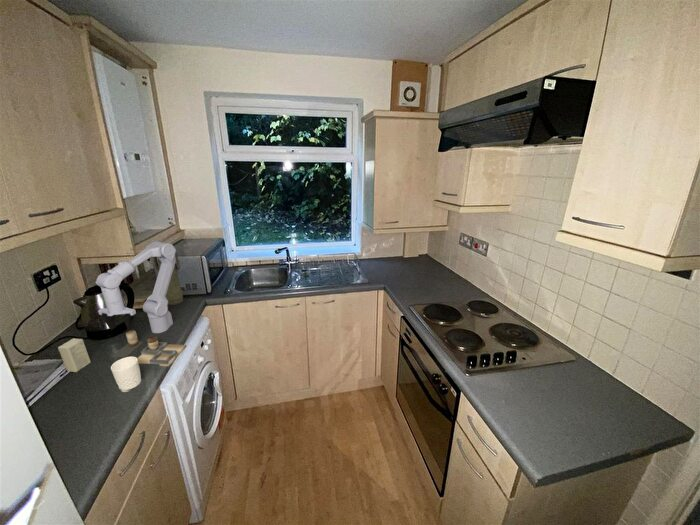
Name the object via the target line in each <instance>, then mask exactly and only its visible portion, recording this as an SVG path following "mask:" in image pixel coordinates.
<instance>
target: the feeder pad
mask: <svg viewBox="0 0 700 525" xmlns="http://www.w3.org/2000/svg"><path fill="white" fill-rule="evenodd" d="M138 341H139V344H138V345H136V346H132V347H130V346H129V344H128V343H127V344H126V345H124V346H123V347H121V348H120V349H119V350H118V351H117V352H115V353H114V354H113V355H112V356H111V357H112V358H126V357H129V356H128V355H130V354H131V353H133V352H134V350H136V349H137V348H139V346H140V345H142V344H143V343H144V341H140V340H138Z"/></svg>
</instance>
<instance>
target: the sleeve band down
mask: <svg viewBox="0 0 700 525" xmlns="http://www.w3.org/2000/svg"><path fill="white" fill-rule="evenodd" d="M125 337H126V340H127V344H129V346H130V347H132V346H136V345H138V344H139V341H140V340H139V339H138V334H137V332H136V330H134V329H133V330H132V329H131V330H128V331H127V332H125Z"/></svg>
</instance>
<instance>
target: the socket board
mask: <svg viewBox="0 0 700 525" xmlns="http://www.w3.org/2000/svg"><path fill="white" fill-rule="evenodd" d="M158 344H159V349H158V350H157V351H150V350H149V346H148V345H147V346H145V347H144V348H143V349H142V350H141V351H140V353H141V355H139V356H138V357H136V358H137V359H138V364H143V365H144V364H149V365H150V364H151V365H158V367H170V365H171V364H172V363H173V362H174V361H175V360H176V359H177V358H178V357H179V355H181V354H182V353H183V351H184V350H185V349H186V348H187V345H186V344H172V343H170V344H168V342H167V341H166V342H165V341H158Z"/></svg>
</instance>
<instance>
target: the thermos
mask: <svg viewBox="0 0 700 525" xmlns="http://www.w3.org/2000/svg"><path fill="white" fill-rule="evenodd" d="M152 258H153V262H154V265H155V270H156V271H157V272H159V270H160V267H161V263H162V262H161V261H160V259H159V258H158V257H152ZM175 258H176V262H175V266H174V269H173V273H172V276H171V279H170V283H169V286H168V289H167V293H166V299H167V300H168V305H167V306H176V305H179V304H182V303H183V302H184V296H183V295H184V294H183V290H182V288H181V285H180V280H179V274H178V273H179V270H180V261H179V257H178V253H177V251H176V252H175Z"/></svg>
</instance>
